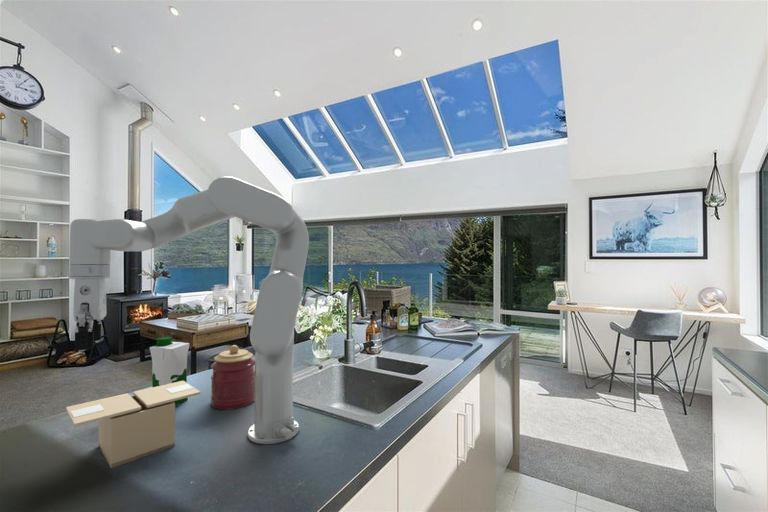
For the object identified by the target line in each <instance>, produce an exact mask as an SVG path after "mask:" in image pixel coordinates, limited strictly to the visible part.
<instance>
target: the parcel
mask: <svg viewBox="0 0 768 512" xmlns="http://www.w3.org/2000/svg"><path fill="white" fill-rule="evenodd" d="M130 396H131V397H132V398H133V399H134V400H135V401H136V402H137V403H138V404H139V405H140V406H141V410H138V411H134V412H130V413H126V414H122V415H118V416H115V417H111V418H107V419H103V420H99V421H98V448H99V449H100V451H101V453H102V455H103V456H104V458H105V460H106V462H107V464H108V465H109V467H110V468H111V469H113V468H115V467H119V466H121V465H124V464H128V463H130V462H133V461H136V460H139V459H142V458H145V457H148V456H151V455H153V454H156V453H159V452H162V451H166V450H167V449H171V448H173V447H175V446H176V443H175V442H176V406H175V403H174V402H173V401H172V402H168V403H164V404H161V405H157V406H153V407H149V408H147V407H146V406H145V405H144V404H143V403H142V402H141V401H140V400H139V399H138V398H137V397H136V396H135V395H134V394H133V395H130Z"/></svg>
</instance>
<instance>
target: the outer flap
mask: <svg viewBox="0 0 768 512" xmlns="http://www.w3.org/2000/svg"><path fill="white" fill-rule="evenodd" d="M131 396H132V395H130V394H129V393H128V392H126V393H123V394H122V393H121V394H118V395H113V396H109V397H104V398H101V399H96V400H92V401H86V402H83V403H79V404H78V403H77V404H72V405H69V406H66V408H65V411H66V412H67V415H68V417H69V419H70V421H71V423H72V425H73V427H75V428H76V427H79V426H83V425H88V424H91V423H95V422H99V420H103V419H107V418H111V417H115V416H118V415H122V414H126V413H130V412H134V411H138V410H141V406H140V405H139V404H138V403H137V402H136V401H135V400H134V399H133V398H132V397H131Z"/></svg>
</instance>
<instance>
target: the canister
mask: <svg viewBox="0 0 768 512" xmlns="http://www.w3.org/2000/svg"><path fill="white" fill-rule="evenodd" d="M253 357H254V354H253V353H252V352H250V351H249V350H247V349H242V348H241V349H240V348H239V345H236V344H233V345H231V346H230V347H229V350H224V351H221V352H219V354H218V355H216V356H214V358H213V360H214V362H213V363H212V364H211V365H210V368H211V370H212V374H211V377H210V379H211V393H210V394H211V396H210V402H211V407H213V408H214V409H219V410H233V409H234V410H235V409H239V408H243V407H244V408H245V406H248V405H251V404H252V403H253V402H255V358H253Z"/></svg>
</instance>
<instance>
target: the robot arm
mask: <svg viewBox="0 0 768 512" xmlns="http://www.w3.org/2000/svg"><path fill="white" fill-rule="evenodd" d="M233 218H237V219H241V220H243V221H245V222H248V223H251V224H254V225H255V226H259V227H261V228H264V229H266V230H268V231H270V232H272V233H273V234H274V236H275V246H274V249H273V254H272V255H273V256H272V261H271V264H270V269H269V272H268V274H267V275H266V277H265V278H264V279H263V280H262V282H261V285H260V288H259V291H258V295H257V300H256V305H255V309H254V313H253V318H252V322H251V326H250V332H249V340H250V345H251V346H252V348H253V349H254V351H255V352H254V353H255V355H254V360H255V365H254V370H255V400H254V413H253V415H254V420H253V421H254V423H253V424H252V425H251V426H250V427H249V428H248V430H247V438H248V439H249V440H250V441H251V442H253V443H256V444H261V445H272V444H273V445H274V444H279V443H282V442H286V441H288V440H291V439H292V438H294V437H295V436H296V435H297V434H298V432H299V431H300V430H299V428H300V427H299V426H300V425H299V423H298V421H296V420H295V417H294V416H293V415H294V414H293V413H294V344H295V343H294V342H295V340H294V339H295V327H296V326H295V325H296V321H297V316H298V312H299V306H300V302H301V297H302V293H303V280H304V276H305V275H304V274H305V270H306V265H307V264H306V263H307V258H308V252H309V246H310V236H309V230H308V227H307V225H306V223H305V221H304V219H303V218H302V216H301V215H300V214H299V213H298V212H297V211H296V210H294V208H293V206H292V204H291V202H289V201H288V200H287V199H286V198H285V197H283V196H281V195H279V194H277V193H274V192H272V191H269V190H266V189H264V188H261V187H259V186H256V185H254V184H251V183H249V182H246V181H244V180H242V179H239V178H237V177H235V176H234V177H233V176H231V175H230V176H225V175H224V176H220V177H217V178H216V179H214V180H212V182H211V183H210V184H209V185H208V187H207V189H204V190H202V191H199V192H196V193H192V194H190V195H187V196H183V197H180V198H179V199H177V200H176V201H175V202H174V204H173V205H172V207H171V208H170V209H169V210H168V211H166V212H164V213H162V214H160V215H157V216H154V217H151V218H147V219H145V220H142V221H136V220H131V219H130V220H129V219H125V218H112V219H104V220H103V219H102V220H101V219H92V218H78V219H77V218H76V219H73V220H72V221H71V223H70V226H69V259H68V260H69V264H68V279H71V280H74V286H73V305H72V306H73V309H72V311H73V313H72V315H73V321H74V322H75V323H76V326H75V332H74V350H75V351H87V350H92V349H94V341H101V339H102V323H101V321H102V320H103V319H104V318H105V317H106V316H107V283H106V279H110V278H111V251H116V252H145V251H148V250H149V251H150V250H151V249H154V248H158V247H160V246H163V245H167V244H169V243H172V242H174V241H177V240H179V239H181V238H183V237H186V236H188V235H190V234H192V233H194V232H196V231H199V230H201V229H204V228H208V227H210V226H213V225H215V224H218V223H222V222H225V221H229V219H233Z"/></svg>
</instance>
